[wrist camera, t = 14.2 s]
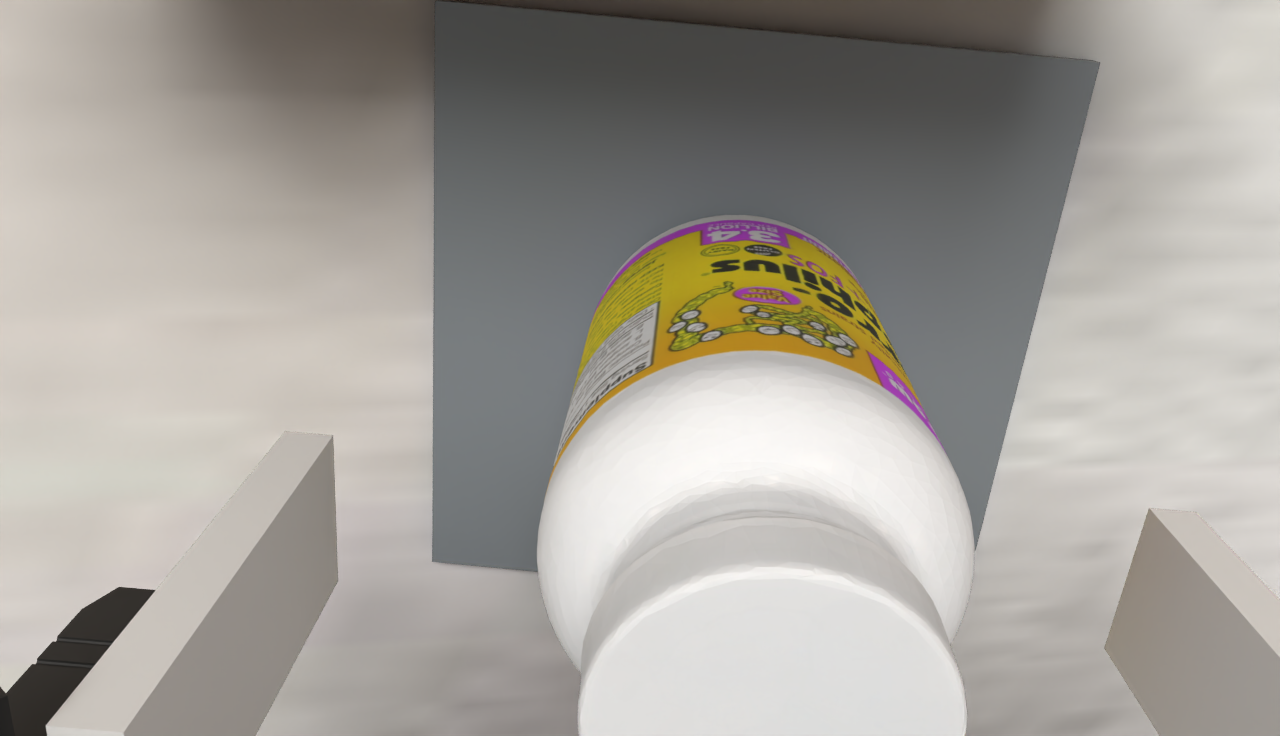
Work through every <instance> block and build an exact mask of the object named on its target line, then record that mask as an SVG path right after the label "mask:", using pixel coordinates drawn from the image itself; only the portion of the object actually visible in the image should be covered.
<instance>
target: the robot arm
mask: <svg viewBox="0 0 1280 736" xmlns="http://www.w3.org/2000/svg"><path fill="white" fill-rule="evenodd" d="M337 582H338V565H337V536H336V506H335V477H334V447H333V435H323V434H312V433H300V432H289V431H285V432H284V433H283V434H282V436H281V437H280V438H279V439H278V441H277V442H276V443H275V444H274V445H273V447H272V448H271V449H270V450H269V452H268V453H267V454H266V455H265V457H264V458H263V459H262V460H261V461H260V463H259V464H258V465H257V466H256V468H255V469H254V470H253V471H252V473H251V474H250V475H249V476H248V477H247V479H246V480H245V481H244V482H243V484H242V485H241V486H240V487H239V489H238V490H237V491H236V492H235V493H234V495H233V496H232V497H231V498H230V500H229V501H228V502H227V503H226V505H225V506H224V507H223V508H222V509H221V511H220V512H219V513H218V514H217V516H216V517H215V518H214V519H213V520H212V522H211V523H210V524H209V525H208V527H207V528H206V529H205V530H204V532H203V533H202V534H201V535H200V536H199V538H198V539H197V540H196V541H195V543H194V544H193V545H192V546H191V548H190V549H189V550H188V551H187V552H186V554H185V555H184V556H183V557H182V559H181V560H180V561H179V562H178V564H177V565H176V566H175V567H174V568H173V570H172V571H171V572H170V573H169V575H168V576H167V577H166V578H165V579H164V581H163V582H162V583H161V584H160V586H159V587H158V588H157V589H156V590H147V589H136V588H124V587H118V588H116V589H115V590H113V591H111V592H110V593H108V594H106V595H105V596H103V597H101V598H100V599H98V600H96V601H95V602H93V603H91V604H90V605H88V606H86V607H85V608H83V609H82V610H81V611H80V612H79V613H78V614H77V615H76V616H75V617H74V619H73V620H72V621H71V622H70V623H69V624H68V625H67V626H66V627H65V629H64V630H63V631H62V632H61V633H60V634H59V635H58V637H57V641H56V642H52V643H51V644H50V645H49V646H48V647H47V648H46V650H45V651H44V652H43V653H42V654H41V655H40V656H39V657H38V658H37V663H36V665H35V664H32V665H31V666H30V667H29V668H28V670H27V671H26V672H25V673H24V674H23V675H22V676H21V677H20V678H19V679H18V681H17V682H16V683H15V684H14V685H13V686H12V687H11V688H10V689H9V691H8V692H7V693H5V692H4V691H3V690H2V689H1V687H0V736H256V734H257V732H258V730H259V728H260V726H261V724H262V723H263V721H264V719H265V717H266V715H267V713H268V711H269V709H270V708H271V706H272V704H273V702H274V700H275V698H276V696H277V694H278V693H279V691H280V689H281V687H282V685H283V683H284V681H285V679H286V678H287V676H288V674H289V672H290V670H291V668H292V666H293V664H294V662H295V661H296V659H297V657H298V655H299V653H300V651H301V649H302V647H303V646H304V644H305V642H306V640H307V638H308V636H309V634H310V632H311V631H312V629H313V627H314V625H315V623H316V621H317V619H318V617H319V616H320V614H321V612H322V610H323V608H324V606H325V604H326V602H327V601H328V599H329V597H330V595H331V593H332V591H333V589H334V587H335V586H336V584H337ZM1105 650H1106V652H1107V653H1108V655H1109V656H1110V658H1111V660H1112V661H1113V663H1114V664H1115V666H1116V667H1117V669H1118V671H1119V672H1120V674H1121V675H1122V677H1123V679H1124V680H1125V682H1126V683H1127V685H1128V686H1129V688H1130V690H1131V691H1132V693H1133V694H1134V696H1135V698H1136V699H1137V701H1138V702H1139V704H1140V705H1141V707H1142V709H1143V710H1144V712H1145V713H1146V715H1147V717H1148V718H1149V720H1150V721H1151V723H1152V724H1153V726H1154V728H1155V729H1156V731H1157V732H1158V734H1159V736H1280V599H1279V598H1278V597H1277V596H1276V595H1275V594H1274V593H1273V592H1272V591H1271V590H1270V589H1269V588H1268V587H1267V586H1266V585H1265V584H1264V583H1263V582H1262V581H1261V579H1260V578H1259V577H1258V576H1257V575H1256V574H1255V573H1254V572H1253V571H1252V570H1251V569H1250V568H1249V567H1248V566H1247V565H1246V564H1245V563H1244V562H1243V561H1242V560H1241V558H1240V557H1239V556H1238V555H1237V554H1236V553H1235V552H1234V551H1233V550H1232V549H1231V548H1230V547H1229V546H1228V545H1227V544H1226V543H1225V542H1224V541H1223V540H1222V539H1221V538H1220V536H1219V535H1218V534H1217V533H1216V532H1215V531H1214V530H1213V529H1212V528H1211V527H1210V526H1209V525H1208V524H1207V523H1206V522H1205V521H1204V520H1203V519H1202V518H1201V517H1200V515H1199V514H1198V513H1197V512H1188V511H1177V510H1166V509H1154V508H1149V510H1148V513H1147V516H1146V519H1145V522H1144V526H1143V529H1142V532H1141V535H1140V538H1139V541H1138V544H1137V547H1136V551H1135V554H1134V557H1133V560H1132V563H1131V566H1130V569H1129V572H1128V576H1127V579H1126V582H1125V585H1124V588H1123V591H1122V594H1121V598H1120V601H1119V604H1118V607H1117V610H1116V613H1115V616H1114V619H1113V623H1112V626H1111V629H1110V632H1109V635H1108V638H1107V641H1106V644H1105Z"/></svg>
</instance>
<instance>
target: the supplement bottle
mask: <svg viewBox="0 0 1280 736" xmlns="http://www.w3.org/2000/svg"><path fill="white" fill-rule="evenodd" d="M974 559H975V548H974V537H973V528H972V521H971V516H970V511H969V507H968V504H967V501H966V498H965V495H964V492H963V489H962V487H961V484H960V482H959V479H958V477H957V475H956V473H955V471H954V469H953V467H952V465H951V462H950V460H949V458H948V456H947V454H946V452H945V450H944V448H943V446H942V444H941V442H940V441H939V439H938V437H937V435H936V433H935V431H934V429H933V428H932V426H931V424H930V422H929V420H928V418H927V416H926V414H925V412H924V410H923V408H922V405H921V403H920V401H919V399H918V397H917V395H916V393H915V391H914V389H913V386H912V384H911V382H910V380H909V379H908V377H907V374H906V372H905V370H904V368H903V366H902V364H901V362H900V360H899V359H898V357H897V355H896V353H895V350H894V348H893V346H892V344H891V342H890V340H889V338H888V336H887V334H886V332H885V330H884V328H883V326H882V324H881V322H880V320H879V318H878V316H877V314H876V312H875V310H874V309H873V307H872V305H871V303H870V301H869V298H868V296H867V295H866V293H865V291H864V290H863V288H862V286H861V284H860V283H859V281H858V280H857V278H856V277H855V275H854V274H853V272H852V271H851V270H850V268H849V267H848V266H847V265H846V263H845V262H844V261H843V260H842V259H841V258H840V257H839V256H838V255H837V254H836V253H835V252H834V251H832V250H831V249H830V248H829V247H828V246H827V245H825V244H824V243H822V242H821V241H820V240H818V239H817V238H815V237H814V236H812V235H810V234H808V233H806V232H804V231H802V230H800V229H798V228H796V227H794V226H791V225H788V224H786V223H783V222H780V221H777V220H773V219H769V218H765V217H758V216H750V215H720V216H712V217H707V218H701V219H698V220H694V221H690V222H687V223H684V224H681V225H679V226H676V227H674V228H671V229H669V230H668V231H666V232H664V233H662V234H660V235H658V236H657V237H655V238H653V239H652V240H650V241H649V242H647V243H646V244H645V245H643V246H642V247H641V248H640V249H638V250H637V251H636V252H635V253H634V254H633V255H632V256H630V258H629V259H628V260H627V261H626V262H625V263H624V264H623V265H622V266H621V267H620V269H619V270H618V271H617V273H616V274H615V276H614V277H613V278H612V280H611V281H610V283H609V284H608V286H607V288H606V290H605V291H604V293H603V295H602V297H601V299H600V301H599V303H598V306H597V308H596V310H595V313H594V316H593V318H592V321H591V325H590V328H589V332H588V336H587V340H586V344H585V347H584V351H583V355H582V359H581V363H580V366H579V370H578V374H577V378H576V382H575V385H574V389H573V394H572V397H571V401H570V405H569V409H568V412H567V416H566V420H565V424H564V428H563V431H562V435H561V439H560V443H559V447H558V451H557V455H556V458H555V462H554V465H553V468H552V472H551V476H550V480H549V483H548V487H547V491H546V495H545V499H544V505H543V509H542V513H541V518H540V524H539V529H538V542H537V566H538V577H539V583H540V589H541V594H542V598H543V601H544V605H545V608H546V611H547V614H548V618H549V620H550V622H551V625H552V627H553V629H554V632H555V634H556V636H557V638H558V640H559V642H560V643H561V645H562V647H563V649H564V650H565V652H566V654H567V655H568V657H569V658H570V660H571V661H572V663H573V664H574V665H575V667H576V668H577V669H578V670H579V672H580V673H581V681H580V689H579V700H578V714H577V723H578V733H579V736H965V735H966V727H967V706H966V696H965V688H964V685H963V681H962V678H961V675H960V672H959V668H958V665H957V662H956V659H955V657H954V654H953V651H952V648H951V645H950V644H951V642H952V641H953V639H954V637H955V635H956V633H957V631H958V629H959V626H960V624H961V621H962V619H963V617H964V614H965V612H966V608H967V604H968V600H969V597H970V592H971V587H972V582H973V575H974Z"/></svg>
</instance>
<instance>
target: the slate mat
mask: <svg viewBox="0 0 1280 736" xmlns="http://www.w3.org/2000/svg"><path fill="white" fill-rule="evenodd" d="M1099 65H1100V62H1097V61H1093V60H1083V59H1072V58H1061V57H1050V56H1040V55H1029V54H1018V53H1007V52H997V51H986V50H975V49H964V48H954V47H943V46H932V45H921V44H911V43H900V42H889V41H878V40H868V39H857V38H846V37H835V36H825V35H814V34H803V33H792V32H782V31H771V30H760V29H749V28H739V27H728V26H717V25H706V24H696V23H685V22H674V21H663V20H652V19H642V18H631V17H620V16H609V15H599V14H588V13H577V12H566V11H556V10H545V9H534V8H523V7H513V6H502V5H491V4H480V3H470V2H459V1H448V0H436V1H435V106H434V321H433V536H432V562H441V563H451V564H462V565H473V566H483V567H494V568H505V569H515V570H526V571H536V572H538V566H537V542H538V529H539V524H540V518H541V513H542V509H543V505H544V499H545V495H546V491H547V487H548V483H549V480H550V476H551V472H552V468H553V465H554V462H555V458H556V455H557V451H558V447H559V443H560V439H561V435H562V431H563V428H564V424H565V420H566V416H567V412H568V409H569V405H570V401H571V397H572V394H573V389H574V385H575V382H576V378H577V374H578V370H579V366H580V363H581V359H582V355H583V351H584V347H585V344H586V340H587V336H588V332H589V328H590V325H591V321H592V318H593V316H594V313H595V310H596V308H597V306H598V303H599V301H600V299H601V297H602V295H603V293H604V291H605V290H606V288H607V286H608V284H609V283H610V281H611V280H612V278H613V277H614V276H615V274H616V273H617V271H618V270H619V269H620V267H621V266H622V265H623V264H624V263H625V262H626V261H627V260H628V259H629V258H630V256H632V255H633V254H634V253H635V252H636V251H637V250H638V249H640V248H641V247H642V246H643V245H645V244H646V243H647V242H649V241H650V240H652V239H653V238H655V237H657V236H658V235H660V234H662V233H664V232H666V231H668V230H669V229H671V228H674V227H676V226H679V225H681V224H684V223H687V222H690V221H694V220H698V219H701V218H707V217H712V216H720V215H750V216H758V217H765V218H769V219H773V220H777V221H780V222H783V223H786V224H788V225H791V226H794V227H796V228H798V229H800V230H802V231H804V232H806V233H808V234H810V235H812V236H814V237H815V238H817V239H818V240H820V241H821V242H822V243H824V244H825V245H827V246H828V247H829V248H830V249H831V250H832V251H834V252H835V253H836V254H837V255H838V256H839V257H840V258H841V259H842V260H843V261H844V262H845V263H846V265H847V266H848V267H849V268H850V270H851V271H852V272H853V274H854V275H855V277H856V278H857V280H858V281H859V283H860V284H861V286H862V288H863V290H864V291H865V293H866V295H867V296H868V298H869V301H870V303H871V305H872V307H873V309H874V310H875V312H876V314H877V316H878V318H879V320H880V322H881V324H882V326H883V328H884V330H885V332H886V334H887V336H888V338H889V340H890V342H891V344H892V346H893V348H894V350H895V353H896V355H897V357H898V359H899V360H900V362H901V364H902V366H903V368H904V370H905V372H906V374H907V377H908V379H909V380H910V382H911V384H912V386H913V389H914V391H915V393H916V395H917V397H918V399H919V401H920V403H921V405H922V408H923V410H924V412H925V414H926V416H927V418H928V420H929V422H930V424H931V426H932V428H933V429H934V431H935V433H936V435H937V437H938V439H939V441H940V442H941V444H942V446H943V448H944V450H945V452H946V454H947V456H948V458H949V460H950V462H951V465H952V467H953V469H954V471H955V473H956V475H957V477H958V479H959V482H960V484H961V487H962V489H963V492H964V495H965V498H966V501H967V504H968V507H969V511H970V516H971V521H972V528H973V537H974V548H975V550H976V546H977V542H978V538H979V535H980V531H981V527H982V523H983V519H984V515H985V511H986V507H987V503H988V499H989V495H990V492H991V488H992V484H993V480H994V476H995V472H996V468H997V464H998V460H999V456H1000V452H1001V449H1002V445H1003V441H1004V437H1005V433H1006V429H1007V425H1008V421H1009V417H1010V413H1011V409H1012V406H1013V402H1014V398H1015V394H1016V390H1017V386H1018V382H1019V378H1020V374H1021V370H1022V366H1023V363H1024V359H1025V355H1026V351H1027V347H1028V343H1029V339H1030V335H1031V331H1032V327H1033V323H1034V320H1035V316H1036V312H1037V308H1038V304H1039V300H1040V296H1041V292H1042V288H1043V284H1044V280H1045V276H1046V273H1047V269H1048V265H1049V261H1050V257H1051V253H1052V249H1053V245H1054V241H1055V237H1056V233H1057V230H1058V226H1059V222H1060V218H1061V214H1062V210H1063V206H1064V202H1065V198H1066V194H1067V190H1068V187H1069V183H1070V179H1071V175H1072V171H1073V167H1074V163H1075V159H1076V155H1077V151H1078V147H1079V144H1080V140H1081V136H1082V132H1083V128H1084V124H1085V120H1086V116H1087V112H1088V108H1089V104H1090V101H1091V97H1092V93H1093V89H1094V85H1095V81H1096V77H1097V73H1098V69H1099Z"/></svg>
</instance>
